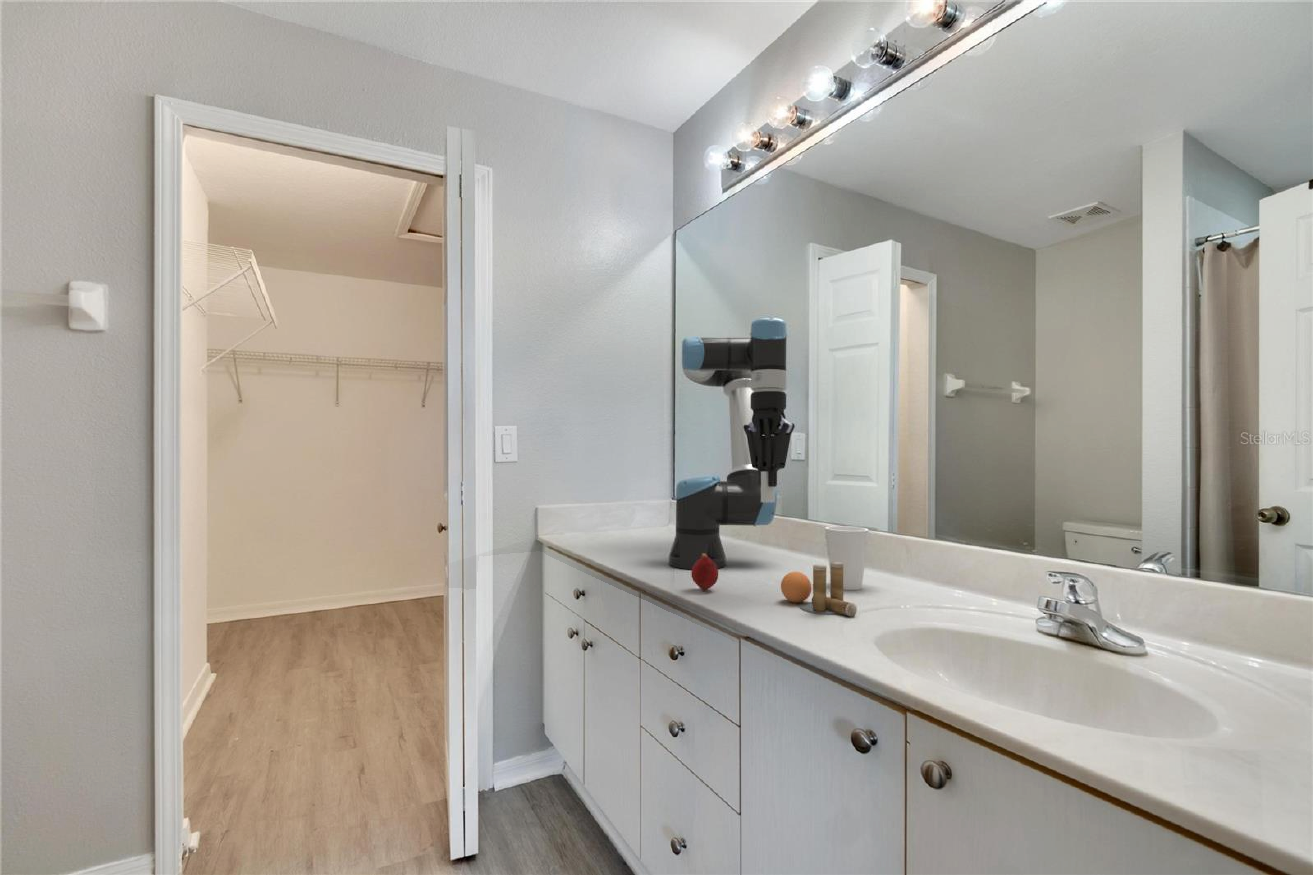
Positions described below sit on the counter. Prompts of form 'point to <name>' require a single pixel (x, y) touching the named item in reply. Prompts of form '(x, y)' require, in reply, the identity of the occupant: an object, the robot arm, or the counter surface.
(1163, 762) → the counter surface
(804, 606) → the pin spot
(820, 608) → the pin
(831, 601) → the pin front
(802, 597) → the ball
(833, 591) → the pin
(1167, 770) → the counter surface
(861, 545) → the foam cup
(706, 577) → the onion
